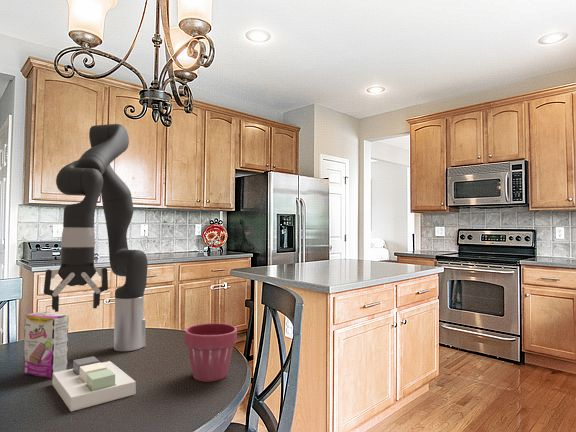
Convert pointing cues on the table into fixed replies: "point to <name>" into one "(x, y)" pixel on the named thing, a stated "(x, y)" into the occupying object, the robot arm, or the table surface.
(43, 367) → the candy bar box
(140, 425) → the table surface
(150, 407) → the table surface
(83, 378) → the ivory key
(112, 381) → the sage key
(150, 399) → the table surface
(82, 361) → the charcoal key
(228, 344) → the plant pot
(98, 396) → the white slotted tray
